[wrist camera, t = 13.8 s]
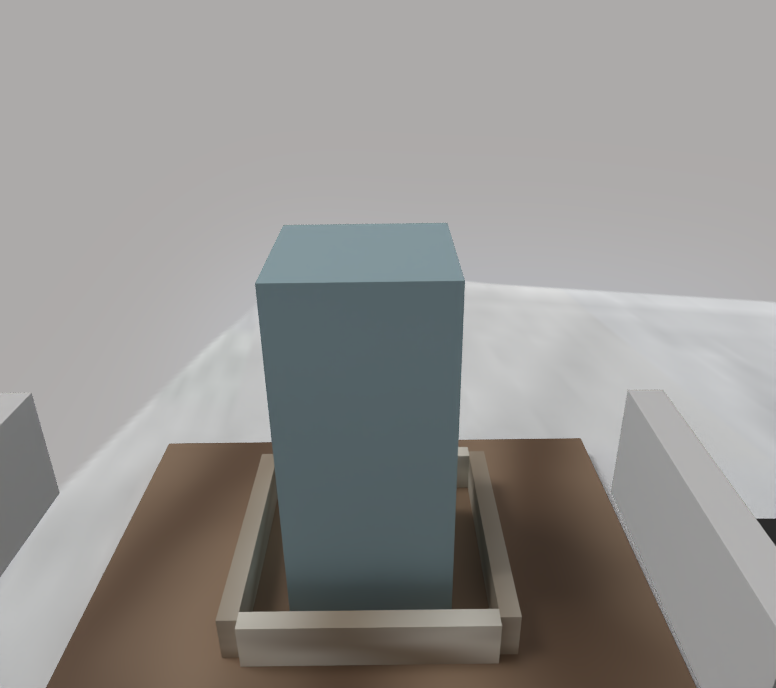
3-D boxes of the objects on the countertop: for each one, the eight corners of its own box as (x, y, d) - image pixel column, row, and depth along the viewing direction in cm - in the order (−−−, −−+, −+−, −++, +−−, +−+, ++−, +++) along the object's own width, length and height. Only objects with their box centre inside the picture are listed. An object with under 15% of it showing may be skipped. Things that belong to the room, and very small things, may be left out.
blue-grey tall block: (439, 508, 25) (447, 223, 21) (451, 614, 21) (464, 281, 16) (307, 509, 25) (283, 225, 21) (290, 616, 21) (255, 283, 16)
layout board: (578, 453, 30) (584, 409, 29) (720, 773, 17) (740, 714, 16) (172, 458, 30) (163, 414, 29) (16, 782, 17) (-9, 724, 16)
